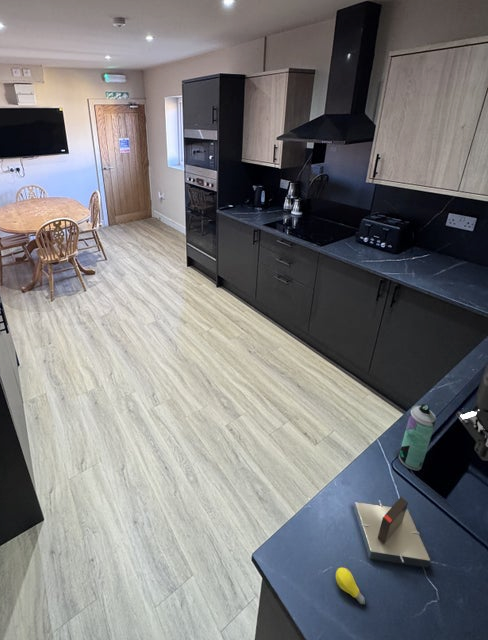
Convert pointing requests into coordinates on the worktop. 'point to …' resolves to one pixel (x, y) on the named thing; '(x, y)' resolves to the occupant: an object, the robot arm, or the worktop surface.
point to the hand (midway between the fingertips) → (483, 456)
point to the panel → (399, 546)
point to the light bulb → (348, 584)
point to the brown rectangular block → (392, 519)
